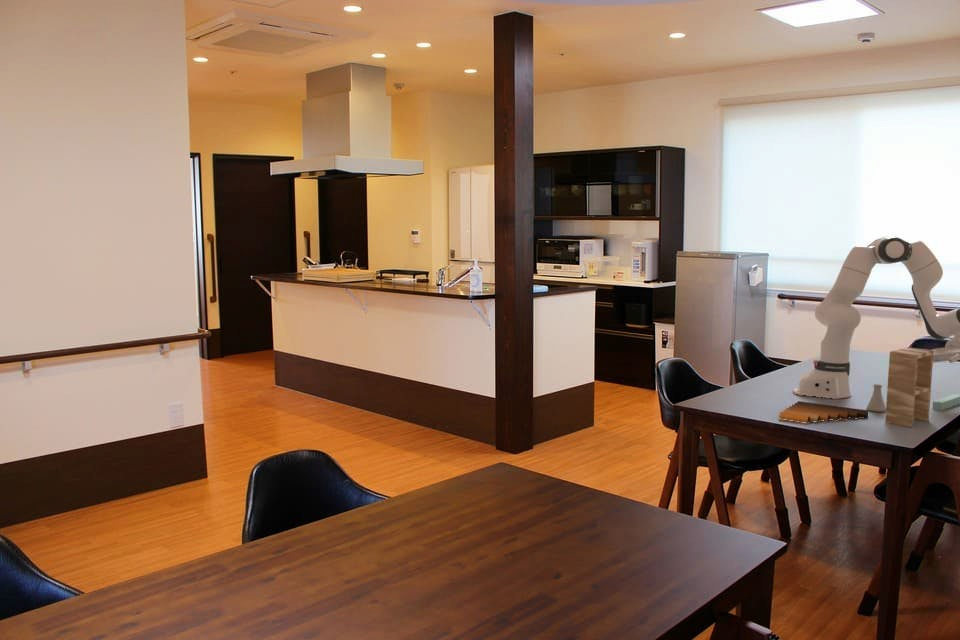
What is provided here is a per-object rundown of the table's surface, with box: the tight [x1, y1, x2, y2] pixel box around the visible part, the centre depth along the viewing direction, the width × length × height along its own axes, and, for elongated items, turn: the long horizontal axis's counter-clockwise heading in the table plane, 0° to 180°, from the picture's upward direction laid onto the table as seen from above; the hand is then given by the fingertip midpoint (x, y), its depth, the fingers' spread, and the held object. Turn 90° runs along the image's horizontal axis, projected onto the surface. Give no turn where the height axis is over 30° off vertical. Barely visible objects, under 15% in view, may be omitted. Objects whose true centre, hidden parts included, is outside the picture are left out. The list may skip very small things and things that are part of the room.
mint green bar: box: [932, 393, 960, 411], centre depth 313 cm, size 20×3×3 cm, turn 129°
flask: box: [865, 383, 886, 413], centre depth 305 cm, size 7×7×10 cm
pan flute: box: [778, 400, 869, 424], centre depth 293 cm, size 25×3×25 cm
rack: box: [884, 347, 934, 428], centre depth 287 cm, size 15×9×26 cm, turn 130°
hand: (938, 362), depth 309 cm, fingers open, 8 cm apart
